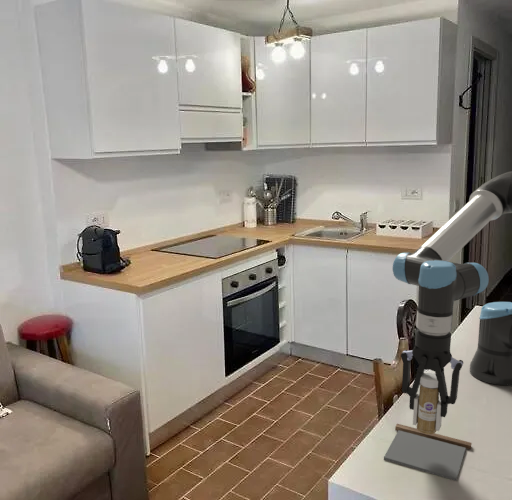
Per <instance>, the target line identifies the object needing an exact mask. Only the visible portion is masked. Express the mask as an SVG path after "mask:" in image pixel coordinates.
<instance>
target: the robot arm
mask: <svg viewBox="0 0 512 500" xmlns="http://www.w3.org/2000/svg"><path fill="white" fill-rule="evenodd" d="M505 214H512V171H507V172H504V173H502V174H499V175H497V176H495V177H493V178H491V179H489V180H487V181H486V182H484V183H483V184H481V185H480V186H479V187H478V188H476V189H475V190H474V191H473V192H472V193H471V194H470V195H469V199H468V202H467V203H466V204H465V205H463V206H462V207H461V209H459V210H458V211H457V212H455V214H454V215H453V216H452V217H451V218H449V219H448V220H447V221H446V222H445V223H444V224H443V225H442V226H441V227H440V228H439V229H438V230H437V231H436V232H434V234H432V235H431V236H430V237H429V238H428V239H427V240H426V241H425V242H424V243H423V244H422V245H421V246H419V248H417V249H416V250H415V251H414V252H413V253H412V252H401V253H399V254H397V256H396V257H395V258H394V259H393V263H392V272H393V273H392V275H393V276H394V277H395V279H396V280H398V281H400V282H403V283H405V284H407V285H412V286H416V287H418V289H417V290H418V291H417V293H418V296H417V300H418V301H417V310H416V325H415V326H416V330H415V338H414V339H415V340H414V347H413V349H412V350H408V349H403V351H402V352H401V353H400V357H401V361H402V377H401V378H402V380H401V381H402V383H401V386H402V387H401V392H402V393H403V394H407V395H408V397H409V405H408V408H409V409H410V410H413V414H412V416H413V417H412V425H413V426H417V423H418V402H419V393H418V392H419V389H420V379H421V377H422V375H423V373H425V371H426V370H427V371H428V370H430V371H433V372H434V374H436V377H437V380H438V388H439V402H438V404H437V416H436V432H439V431H440V430H441V427H442V419H443V418H446V416H447V414H448V405H450V404H451V405H455V403H456V401H457V400H458V392H459V391H458V390H459V382H460V381H459V380H460V371H461V370H462V367H463V366H464V361H463V360H461V359H456V358H454V357H453V356H452V353H451V340H452V333H451V331H452V329H453V316H454V313H453V312H454V303H455V302H456V301H458V300H462V299H466V298H469V297H475V296H476V295H478V294H479V293H483V292H484V291H485V290H486V289H487V288H488V286H489V279H490V278H489V273H488V271H487V269H486V268H485V267H484V266H483V265H481V264H480V263H477V262H465V263H457V262H453V261H451V260H452V259H453V258H454V256H456V255H457V254H458V253H459V251H461V250H462V249H463V248H464V247H465V246H466V245H468V243H469V242H470V241H471V240H472V239H473V238H474V237H475V236H476V235H477V234H478V233H479V232H480V231H482V229H484V227H485V226H487V224H489V223H490V221H495V220H497V219H498V218H500V217H501V216H502V215H505ZM478 319H479V324H478V325H479V326H478V336H477V337H478V338H477V339H478V340H477V349H476V350H475V353H474V355H473V357H472V360H471V361H470V364H469V373H470V374H471V376H473V377H475V378H476V379H477V380H479V381H482V382H484V383H489V384H493V385H496V386H497V385H499V386H512V302H511V301H493V302H488V303H485V304H484V305H483V306H482V307H481V309H480V314H479V317H478ZM413 358H414V359H415V360H416V363H418V368H417V369H416V370H417V371H416V374H415V377H414V380H413V383H412V387H411V369H412V368H411V366H412V365H411V363H412V359H413ZM449 363H450V365H451V366H450V367H451V369H452V370H453V371H452V372H451V373H452V374H451V380H450V381H451V382H450V383H451V384H450V392H449V394H448V388H447V382H446V377H445V376H446V375H445V367H446V366H447V365H448V364H449Z"/></svg>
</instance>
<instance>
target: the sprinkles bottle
mask: <svg viewBox="0 0 512 500" xmlns="http://www.w3.org/2000/svg"><path fill="white" fill-rule="evenodd" d="M418 394H419V402H418V422H417V424H416V429H418V430H419V431H420V432H422V433H426V434H433V433H436V432H437V431H436V416H437V404H438V402H439V400H440V394H439V388H438V380H437V377H436V374H435V372H424V373H423V375H422V377H421V379H420V385H419V393H418Z"/></svg>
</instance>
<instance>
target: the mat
mask: <svg viewBox="0 0 512 500" xmlns="http://www.w3.org/2000/svg"><path fill="white" fill-rule="evenodd" d="M465 453H466V448H464V447H461V446H457V445H453V444H449V443H445V442H442V441H438V440H434V439H430V438H426V437H423V436H419V435H415V434H411V433H407V432H404V431H400V430H397V432H396V434H395V436H394V438H393V440H392V441H391V443H390V445H389V447H388V448H387V450H386V453H385V454H384V456H383V460H385V461H387V462H392V463H395V464H398V465H401V466H404V467H408V468H411V469H415V470H419V471H422V472H425V473H429V474H431V475H436V476H438V477H442V478H447V479H449V480H453V481H458V476H459V473H460V470H461V467H462V463H463V460H464V457H465Z"/></svg>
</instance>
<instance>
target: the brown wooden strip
mask: <svg viewBox="0 0 512 500" xmlns="http://www.w3.org/2000/svg"><path fill="white" fill-rule="evenodd" d="M394 429H395V431H398V430H400V431H404V432H407V433H411V434H415V435H419V436H423V437H426V438H430V439H434V440H438V441H442V442H445V443H449V444H453V445H457V446H461V447H464V448H466V449H467V450H471V448H472V444H473V443H472V442H470V441H466V440H463V439H458V438H456V437H455V438H454V437H450V436H447V435H443V434H441V433H440V434H439V433H436V432H435V433H433V434H426V433H422V432H420V431H419V430H418V429H417V427H412V426H408V425H404V424H401V423H396V425H395V427H394Z"/></svg>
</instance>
